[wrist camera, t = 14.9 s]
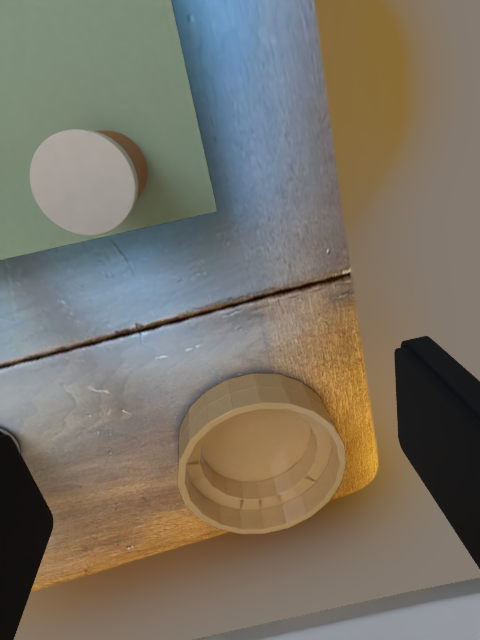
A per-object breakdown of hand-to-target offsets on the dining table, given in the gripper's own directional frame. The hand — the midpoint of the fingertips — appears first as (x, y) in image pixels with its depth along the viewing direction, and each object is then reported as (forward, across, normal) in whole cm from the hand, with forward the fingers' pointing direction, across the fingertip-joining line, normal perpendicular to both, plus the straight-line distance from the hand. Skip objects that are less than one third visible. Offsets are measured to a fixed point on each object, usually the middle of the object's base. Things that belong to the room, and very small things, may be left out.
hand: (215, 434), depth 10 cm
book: (+24, +9, -8) cm, 26 cm away
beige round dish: (+24, 0, +20) cm, 31 cm away
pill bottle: (+21, +5, -5) cm, 22 cm away
